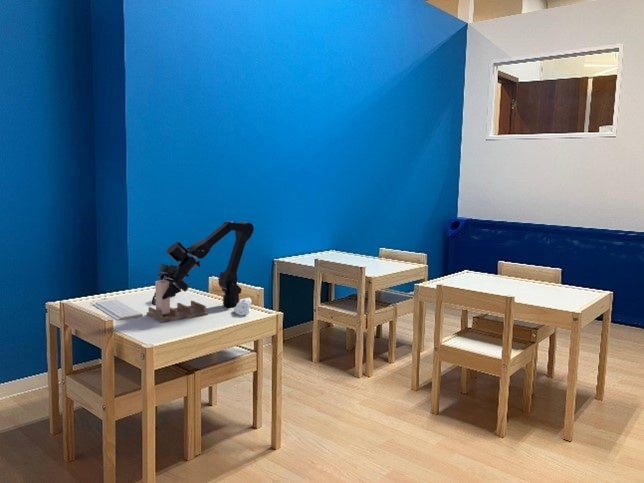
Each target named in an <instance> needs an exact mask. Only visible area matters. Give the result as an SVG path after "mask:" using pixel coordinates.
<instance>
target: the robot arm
mask: <svg viewBox="0 0 644 483" xmlns="http://www.w3.org/2000/svg"><path fill="white" fill-rule="evenodd" d="M231 231H234V235H235V240H234V244H233V248H232V251H231V254H230V257H229V260H228V263H227V267H226V269H225V270H224V271H220V273H219V278H218V279H217V281H218V286H219V287H220V288H221V291H222V292H223V295H222V305H223V306H224V307H225V308H235V307H236V305H237V303H238V302H239V300H240V294H241V293H242V290H243V289H242V287H240V285H238V280H239V279H238V269H239V266H240V263H241V259H242V257H243V254H244V251H245V247H246V244H247V243H248V241H249V240H250V238H251V237H252V235H253V233H254V232H255V227H254V225H253V223H251V222H246V221H239V222H233V221H230V220H225V221H224V222H223V223H222V224H221V225H220V226H219V227H217V229H214V231H212V232H211V233H210V234H209V235H208V236H207V237H205V238H204V239H202V240H199V241H197V242H194V243H193V244H191V246H189V247H185V246H184V245H183V244H182V243H181V242H180V241H176V242H175V243H172V245H170V246H168V248H167V250H166V254H167V255H168V256H170V257H171V259H173V260H174V261H175V262H177V263H178V264H177V265H176V264H175V265H174V264H172V263H170V264H168V265H167V264H165V263H161V264H160V266H159V269H158V271H159V273H158V275H157V277H158V279H159V281H161V280H164V281H166V282H169V288H168V289H167V291H166V292H165V294H164V295H163V297H162V299H166V298H168V297H170V296H171V297H173V296H172V295H174V294H176V295H177V294H178V293H181V292H182V291H183V292H185V293H186V292H187V291H188V289H189V284H187V282H186V281H184V279H185V278H186V277H187V278H188V277H189V276H190V274H189V273H190V272H191V271H192V270H193V269H194V267H198V268H200V267H201V264H200V263H201V262H200V260H198V259H201V260H202V259H204V258H205V257H207V256H208V254H209V253H210V252H211V250H212V248H213V247H214V246H215V245H216V244H218V242H220V241H221V240H222V239H223V238H225V236H227V235H228V234H229V233H230V232H231ZM171 297H170V298H171Z"/></svg>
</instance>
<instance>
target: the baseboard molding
mask: <svg viewBox="0 0 644 483" xmlns="http://www.w3.org/2000/svg"><path fill="white" fill-rule="evenodd" d="M104 300H105V301H104ZM92 301H93V302H95V303H93V302H91V303H90V305H92V306H94V307H95V308H97V309H99V310H100V311H102V312H103V311H104V313H105V314H107V315H109V316H110V317H111V316H112V317H111V318H113V319H114V320H116V321H123V320H128V319H135V318H139V317H140V318H142V317H143V315H144V314H143V313H141V312H139V311H138V310H136V309H134V308H132V307H130V306H128V305H127V304H125V303H123V302H121V301H119V300H118V299H116V297H115V298H113V299H111V300H108V298H106V297H104V298H102V299H101V300H98V301H95V300H92Z"/></svg>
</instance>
